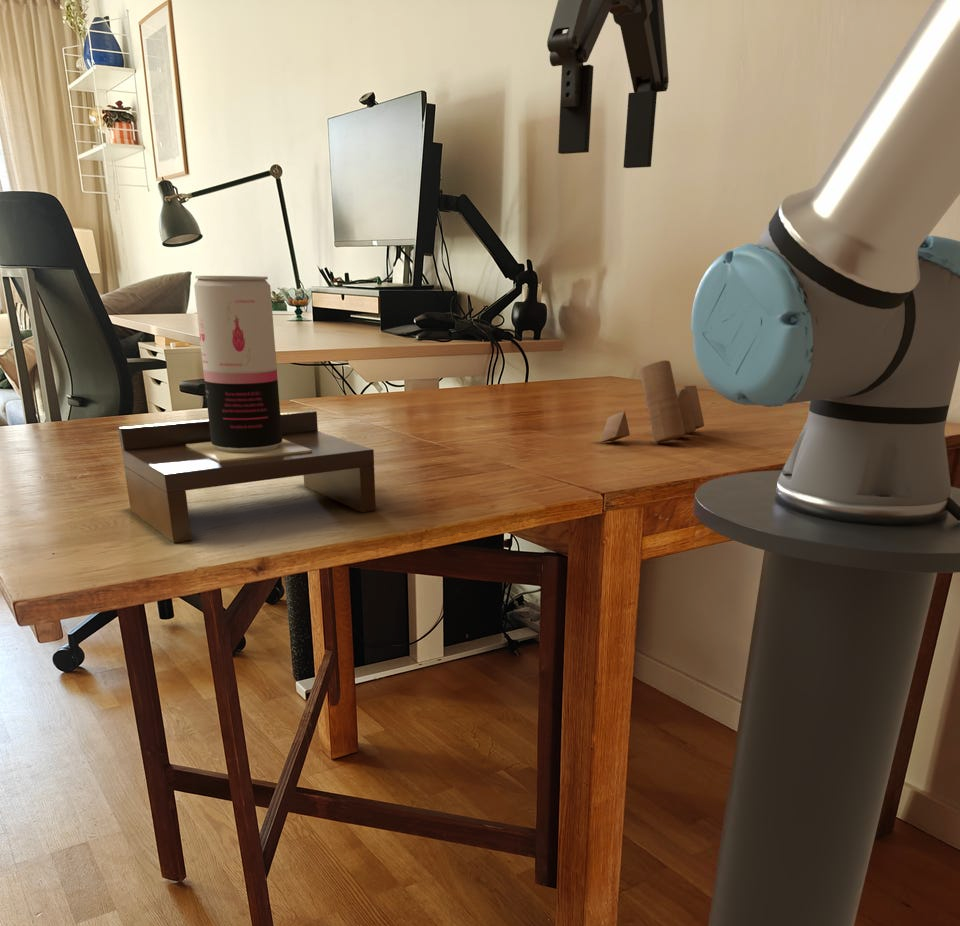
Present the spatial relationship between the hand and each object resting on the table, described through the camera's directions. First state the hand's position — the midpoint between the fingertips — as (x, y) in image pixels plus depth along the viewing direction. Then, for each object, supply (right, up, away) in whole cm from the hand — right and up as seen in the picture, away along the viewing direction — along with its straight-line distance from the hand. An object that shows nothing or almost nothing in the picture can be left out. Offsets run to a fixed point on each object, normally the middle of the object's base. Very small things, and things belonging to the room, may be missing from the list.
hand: (607, 161), depth 82 cm
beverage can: (-34, -28, 0) cm, 44 cm away
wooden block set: (+14, -17, +40) cm, 46 cm away
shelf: (-34, -33, +2) cm, 48 cm away
